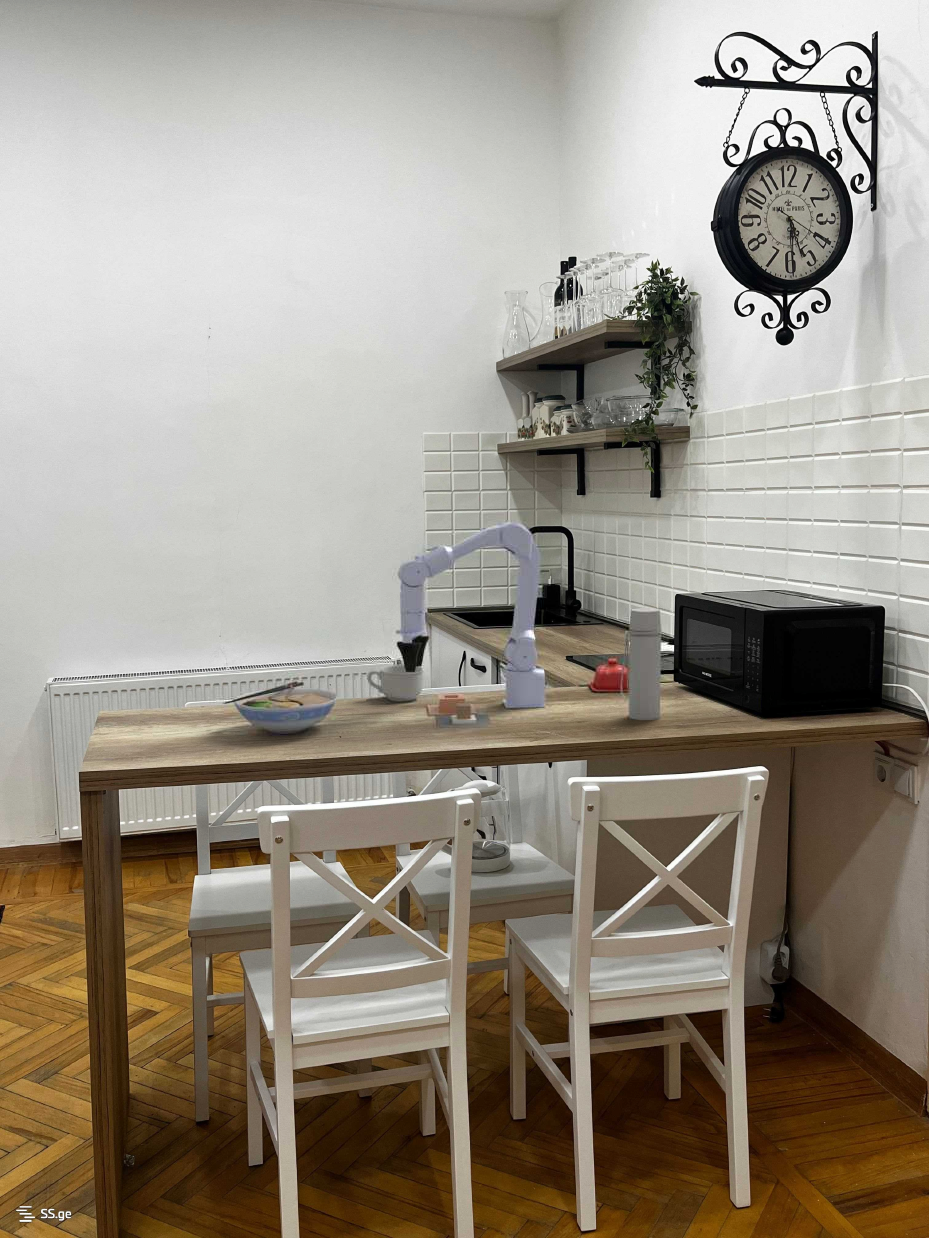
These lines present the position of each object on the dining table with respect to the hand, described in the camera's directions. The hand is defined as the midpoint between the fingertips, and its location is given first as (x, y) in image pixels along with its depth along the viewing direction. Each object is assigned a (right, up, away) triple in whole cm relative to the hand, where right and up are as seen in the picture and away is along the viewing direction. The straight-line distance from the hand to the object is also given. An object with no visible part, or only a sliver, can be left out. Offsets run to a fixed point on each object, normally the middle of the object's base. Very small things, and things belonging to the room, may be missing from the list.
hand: (413, 669), depth 253 cm
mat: (+12, -12, -12) cm, 20 cm away
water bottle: (+52, -11, -10) cm, 54 cm away
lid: (+12, -11, -12) cm, 20 cm away
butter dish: (+50, -7, +25) cm, 57 cm away
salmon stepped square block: (+9, -10, +1) cm, 13 cm away
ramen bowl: (-27, -13, -18) cm, 35 cm away
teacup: (-5, -9, +16) cm, 19 cm away
